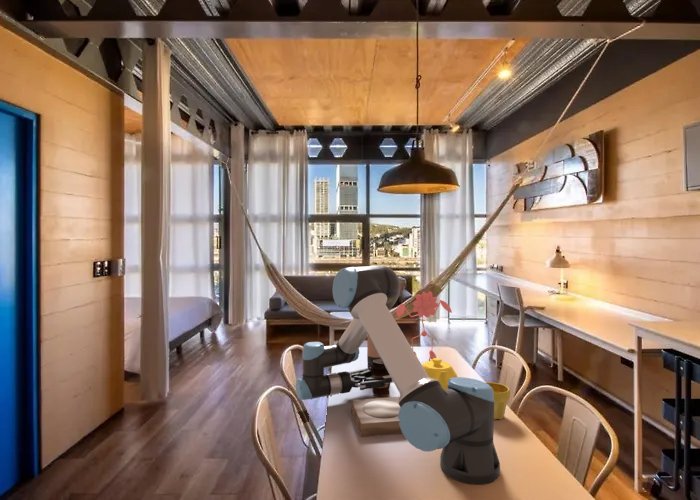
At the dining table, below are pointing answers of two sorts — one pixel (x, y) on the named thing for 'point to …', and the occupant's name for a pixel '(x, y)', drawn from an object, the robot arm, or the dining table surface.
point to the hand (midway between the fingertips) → (392, 374)
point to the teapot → (439, 371)
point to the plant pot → (500, 399)
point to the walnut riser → (376, 416)
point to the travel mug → (371, 353)
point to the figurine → (424, 311)
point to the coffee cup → (378, 372)
